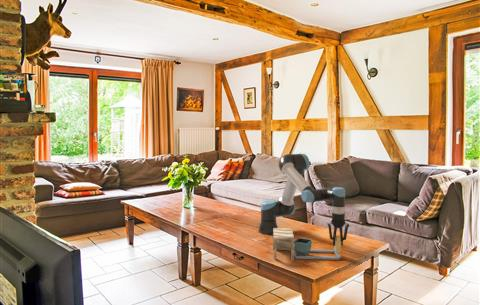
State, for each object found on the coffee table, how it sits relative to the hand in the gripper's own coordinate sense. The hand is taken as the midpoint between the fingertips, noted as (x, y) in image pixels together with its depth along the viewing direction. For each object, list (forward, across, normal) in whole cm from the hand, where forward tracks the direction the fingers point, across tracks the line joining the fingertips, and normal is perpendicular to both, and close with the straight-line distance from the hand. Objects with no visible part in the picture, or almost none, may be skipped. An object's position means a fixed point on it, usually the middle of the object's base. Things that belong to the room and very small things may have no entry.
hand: (337, 250), depth 221 cm
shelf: (+4, -33, 0) cm, 33 cm away
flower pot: (+4, -21, +1) cm, 21 cm away
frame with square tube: (+3, -13, 0) cm, 14 cm away
